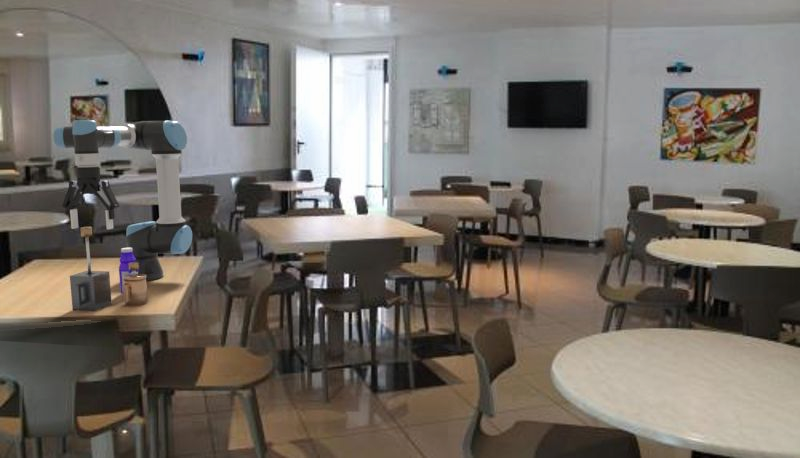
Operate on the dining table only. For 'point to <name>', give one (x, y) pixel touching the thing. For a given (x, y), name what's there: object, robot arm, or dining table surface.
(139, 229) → the robot arm
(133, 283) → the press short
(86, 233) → the plunger tall
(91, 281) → the cube with square hole
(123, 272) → the bottle
